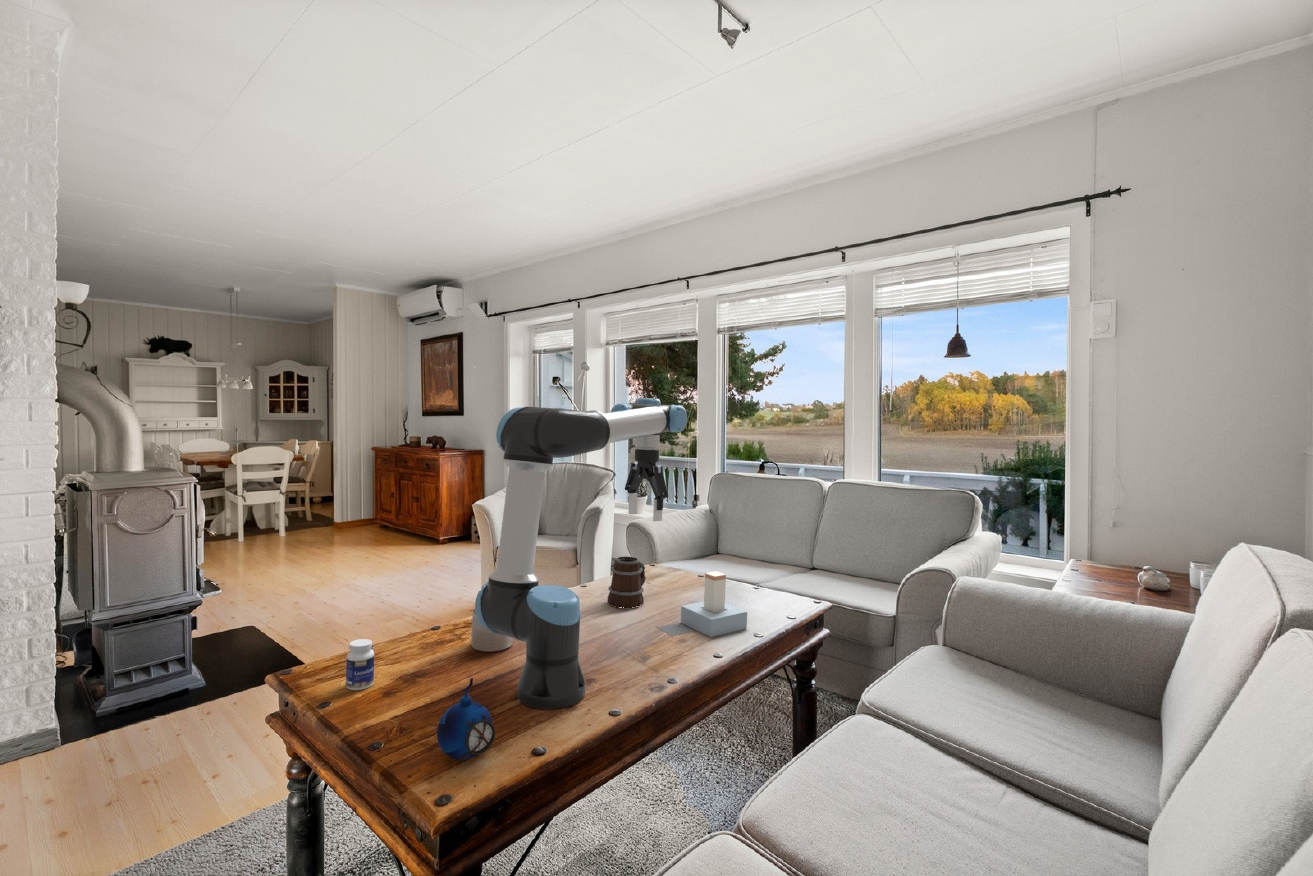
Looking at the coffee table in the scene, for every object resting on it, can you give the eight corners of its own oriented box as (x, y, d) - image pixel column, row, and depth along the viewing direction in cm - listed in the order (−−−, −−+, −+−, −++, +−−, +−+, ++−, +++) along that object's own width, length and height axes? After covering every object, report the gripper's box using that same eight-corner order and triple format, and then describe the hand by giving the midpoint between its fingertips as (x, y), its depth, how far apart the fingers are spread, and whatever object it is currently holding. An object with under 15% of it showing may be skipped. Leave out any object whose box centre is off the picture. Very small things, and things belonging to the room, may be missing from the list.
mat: (672, 639, 175) (672, 636, 175) (656, 630, 182) (656, 627, 182) (694, 634, 180) (694, 631, 180) (677, 626, 187) (678, 622, 187)
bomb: (457, 781, 106) (459, 695, 105) (426, 755, 113) (428, 675, 113) (506, 758, 113) (508, 678, 113) (473, 736, 121) (475, 660, 120)
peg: (712, 623, 182) (714, 576, 182) (703, 619, 186) (705, 573, 185) (724, 620, 185) (726, 574, 184) (714, 616, 189) (716, 571, 188)
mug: (629, 611, 199) (630, 565, 198) (600, 603, 206) (601, 558, 205) (657, 600, 211) (658, 556, 211) (629, 593, 218) (631, 551, 218)
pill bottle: (355, 693, 136) (356, 649, 136) (340, 686, 139) (341, 643, 139) (379, 684, 141) (379, 641, 141) (364, 677, 144) (364, 635, 144)
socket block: (710, 640, 176) (711, 619, 176) (680, 625, 187) (681, 605, 187) (746, 631, 184) (747, 611, 184) (715, 617, 195) (716, 599, 195)
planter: (521, 646, 167) (522, 611, 166) (485, 656, 159) (486, 620, 158) (498, 635, 174) (499, 601, 174) (463, 644, 166) (464, 609, 166)
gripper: (681, 451, 182) (678, 523, 183) (635, 445, 202) (632, 510, 203) (661, 451, 177) (658, 525, 178) (615, 445, 198) (613, 511, 199)
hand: (644, 517), depth 191 cm, fingers open, 13 cm apart
